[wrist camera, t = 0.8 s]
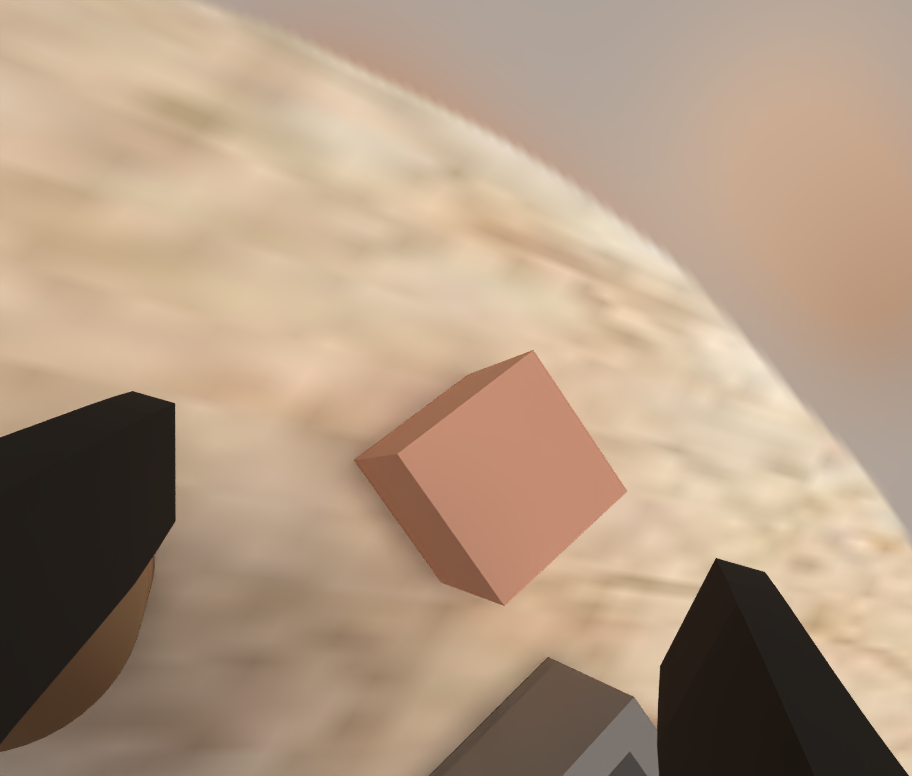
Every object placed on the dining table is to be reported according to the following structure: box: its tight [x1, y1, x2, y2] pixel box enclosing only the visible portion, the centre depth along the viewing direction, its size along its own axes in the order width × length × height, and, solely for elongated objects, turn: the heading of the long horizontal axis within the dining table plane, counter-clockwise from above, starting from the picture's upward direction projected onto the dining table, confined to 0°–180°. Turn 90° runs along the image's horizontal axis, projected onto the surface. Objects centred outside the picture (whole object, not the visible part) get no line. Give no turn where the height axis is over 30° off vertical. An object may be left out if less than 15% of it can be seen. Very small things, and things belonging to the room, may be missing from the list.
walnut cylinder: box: [0, 556, 154, 752], centre depth 16 cm, size 5×5×7 cm
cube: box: [354, 350, 627, 605], centre depth 22 cm, size 5×5×5 cm
